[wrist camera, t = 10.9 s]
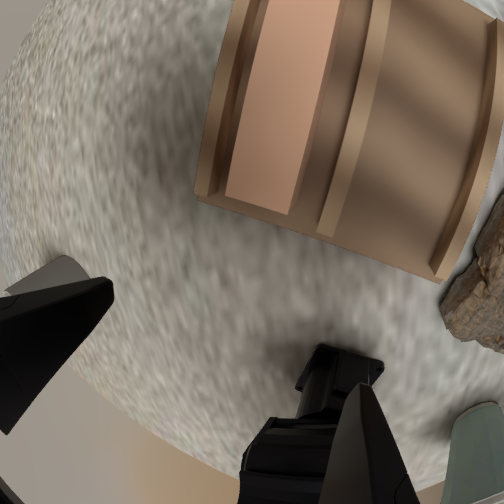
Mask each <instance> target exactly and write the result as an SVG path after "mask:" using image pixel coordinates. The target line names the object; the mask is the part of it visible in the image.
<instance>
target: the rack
mask: <svg viewBox="0 0 504 504" xmlns="http://www.w3.org/2000/svg"><path fill="white" fill-rule="evenodd" d="M268 3H269V0H261V1H260V5H259V8H258V12H257V16H256V19H255V23H254V27H253V31H252V35H251V39H250V42H249V46H248V51H247V55H246V59H245V63H244V67H243V71H242V76H241V80H240V84H239V89H238V93H237V98H236V102H235V107H234V112H233V116H232V121H231V126H230V131H229V136H228V141H227V146H226V151H225V156H224V162H223V167H222V172H221V178H220V183H219V189H218V192H217V193H215V194H213V195H211V196H209V197H204V196H201V195H198V196H197V200H198V201H201V202H204V203H208V204H211V205H214V206H217V207H221V208H224V209H227V210H230V211H234V212H237V213H240V214H243V215H246V216H249V217H252V218H256V219H259V220H262V221H265V222H268V223H271V224H274V225H277V226H280V227H283V228H286V229H289V230H292V231H295V232H298V233H301V234H304V235H307V236H310V237H313V238H316V239H318V240H321V241H324V242H327V243H330V244H333V245H336V246H339V247H341V248H344V249H347V250H350V251H353V252H355V253H358V254H361V255H364V256H366V257H369V258H372V259H375V260H377V261H380V262H383V263H385V264H388V265H391V266H393V267H396V268H399V269H401V270H404V271H407V272H409V273H412V274H414V275H417V276H420V277H422V278H425V279H427V280H430V281H432V282H435V283H437V284H440V282H441V281H442V279H441V278H438V277H436V276H434V274H433V272H432V270H431V268H430V266H429V264H430V262H431V260H432V258H433V255H434V253H435V251H436V249H437V247H438V245H439V242H440V240H441V238H442V235H443V233H444V231H445V228H446V226H447V223H448V221H449V218H450V216H451V213H452V210H453V208H454V205H455V202H456V200H457V197H458V194H459V191H460V188H461V185H462V182H463V179H464V176H465V172H466V169H467V166H468V162H469V158H470V155H471V151H472V147H473V143H474V139H475V135H476V130H477V126H478V121H479V116H480V110H481V104H482V98H483V91H484V84H485V75H486V64H487V46H488V24H489V23H491V22H492V21H493V20H495V19H493V18H492V17H490V16H489V15H487V14H485V13H484V12H482V11H480V10H479V9H477V8H475V7H474V6H472V5H470V4H468V3H466V2H464V1H463V0H391V7H390V14H389V21H388V27H387V33H386V39H385V45H384V50H383V55H382V61H381V66H380V71H379V75H378V80H377V85H376V89H375V93H374V98H373V102H372V106H371V110H370V114H369V118H368V122H367V126H366V130H365V134H364V137H363V141H362V145H361V148H360V152H359V156H358V159H357V162H356V166H355V169H354V173H353V176H352V179H351V183H350V186H349V189H348V192H347V195H346V199H345V202H344V205H343V208H342V211H341V214H340V217H339V220H338V223H337V226H336V229H335V232H334V234H333V237H332V238H331V237H329V236H326V235H323V234H320V233H317V232H316V231H317V227H318V224H319V221H320V218H321V215H322V212H323V208H324V205H325V202H326V199H327V195H328V192H329V189H330V185H331V182H332V179H333V175H334V172H335V168H336V165H337V161H338V157H339V154H340V150H341V147H342V143H343V139H344V135H345V132H346V128H347V124H348V120H349V116H350V112H351V108H352V104H353V100H354V95H355V91H356V87H357V82H358V78H359V74H360V69H361V64H362V60H363V55H364V50H365V45H366V40H367V34H368V29H369V24H370V18H371V12H372V6H373V0H346V4H345V9H344V14H343V19H342V24H341V28H340V33H339V38H338V42H337V47H336V51H335V56H334V60H333V64H332V69H331V73H330V77H329V81H328V86H327V90H326V94H325V98H324V102H323V106H322V110H321V114H320V118H319V122H318V126H317V130H316V134H315V138H314V142H313V146H312V150H311V153H310V157H309V161H308V165H307V168H306V172H305V176H304V180H303V183H302V187H301V191H300V194H299V198H298V201H297V203H296V205H295V206H294V207H293V208H292V210H291V211H290V212H289V214H288V215H285V214H282V213H279V212H276V211H273V210H270V209H267V208H264V207H260V206H257V205H254V204H251V203H248V202H244V201H241V200H238V199H234V198H231V197H228V196H225V192H226V187H227V182H228V176H229V171H230V166H231V161H232V156H233V151H234V146H235V142H236V137H237V132H238V127H239V123H240V118H241V113H242V109H243V104H244V100H245V95H246V91H247V87H248V82H249V78H250V74H251V70H252V65H253V61H254V57H255V53H256V49H257V45H258V41H259V37H260V33H261V29H262V26H263V22H264V18H265V14H266V11H267V7H268Z"/></svg>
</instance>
